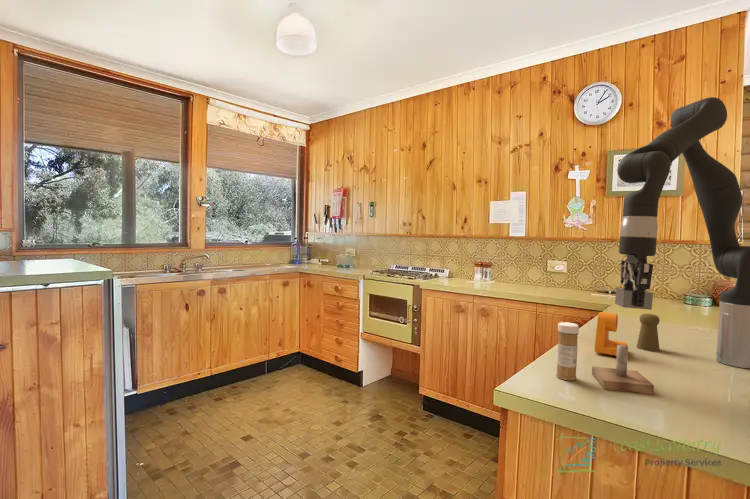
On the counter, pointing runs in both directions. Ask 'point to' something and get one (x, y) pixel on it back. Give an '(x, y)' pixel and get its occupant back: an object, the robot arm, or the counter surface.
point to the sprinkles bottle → (567, 351)
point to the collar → (626, 298)
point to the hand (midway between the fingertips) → (632, 304)
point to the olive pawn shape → (648, 333)
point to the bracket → (606, 334)
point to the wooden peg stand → (622, 376)
